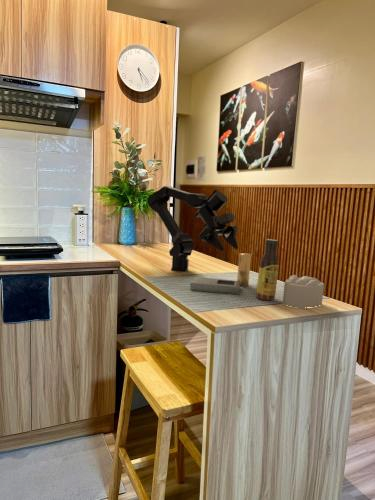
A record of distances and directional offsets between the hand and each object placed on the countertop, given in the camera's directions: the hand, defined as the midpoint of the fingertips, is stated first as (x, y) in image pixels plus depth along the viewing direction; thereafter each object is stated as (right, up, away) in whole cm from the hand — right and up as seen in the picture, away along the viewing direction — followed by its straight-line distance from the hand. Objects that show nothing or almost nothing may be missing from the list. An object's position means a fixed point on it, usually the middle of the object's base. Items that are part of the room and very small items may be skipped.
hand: (230, 249), depth 144 cm
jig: (-7, -14, -10) cm, 19 cm away
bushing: (+4, -14, -3) cm, 15 cm away
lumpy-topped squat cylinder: (+20, -18, -23) cm, 35 cm away
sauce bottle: (+10, -17, -19) cm, 27 cm away
